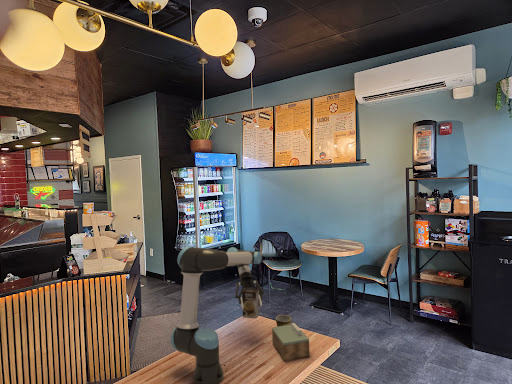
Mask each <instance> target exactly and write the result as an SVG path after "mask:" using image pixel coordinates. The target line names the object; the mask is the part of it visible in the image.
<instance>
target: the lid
mask: <svg viewBox="0 0 512 384" xmlns="http://www.w3.org/2000/svg"><path fill="white" fill-rule="evenodd" d="M272 330H273V331H274V333H275V334H276V336H277V337H278V339H279V340H280V341H281V343H282V344H283V345H289V344H295V343H301V342H306V341H309V342H310V338H309V337H308V336H307V335H306V334H305V332H303V330H302V329H301V328H300V327H299V326H298V325H297V324H296V322H291V325H285V326H278V327H277V326H274V327H271V331H272Z"/></svg>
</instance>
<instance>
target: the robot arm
mask: <svg viewBox="0 0 512 384" xmlns="http://www.w3.org/2000/svg"><path fill="white" fill-rule="evenodd" d="M262 258H263V256H262V253H261V252H259V251H256V250H255V251H252V250H246V249H245V250H243V249H237V248H236V247H232V246H231V247H230V248H228V249H227V251H224V250H218V249H217V250H215V249H212V248H207V247H205V248H204V247H197V246H195V247H194V246H186V247H183V248H182V249H181V251H180V252H179V253H178V256H177V260H176V262H177V264H178V266H179V268H180V269H181V271H180V274H182V275H183V282H182V291H181V292H182V293H181V305H180V314H179V321H178V323H177V324H176V327H175V328H174V329H172V332H171V334H170V344H171V346H172V348H173V349H174V350H175V351H178V352H180V353H184V354H185V355H186V354H187V355H191V356H194V357H195V367H194V371H193V375H192V381H193V384H220V383H221V382H222V381H223V379H224V370H223V367H222V365H221V363H220V341H219V335H218V332H217V331H216V330H214V329H212V328H209V327H207V328H199V326H200V324H199V323H198V322H197V318H198V317H197V316H198V305H199V304H198V303H199V294H200V293H199V292H200V278H201V275H203V274H204V272H207V271H208V272H211V271H215V270H222V269H225V268H226V267H232V266H237V269H238V273H239V280H240V281H236V284H235V286H236V288H235V289H236V290H235V296H234V299H237V300H238V303H239V305H240V307H241V310H243V308H244V306H243V301H242V291H243V290H244V289H245V288H249V289H259V308H261V307H263V303H262V301H263V295H264V293H265V292H264V290H263V288H262V287H261V285H260V284H259V281H258V279H256V280H253V277H252V272H251V268H250V264H251V265H252V264H254V265H259V264H261V262H262ZM240 286H241V289H240V291H239V288H240Z"/></svg>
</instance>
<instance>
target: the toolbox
mask: <svg viewBox="0 0 512 384" xmlns="http://www.w3.org/2000/svg"><path fill="white" fill-rule="evenodd" d="M271 334H272V335H271V336H272V346H273V347H274V349H275V350H276V352H277V353H278V355H279V357H280V358H281V360H282V362H283V363H285V362H291V361H297V360H302V359H307V358H310V340H309V341H306V342H301V343H295V344H289V345H283V344H282V343H281V341H280V340H279V339H278V337H277V336H276V334H275V333H274V331H273V330H272V329H271Z"/></svg>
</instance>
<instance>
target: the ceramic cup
mask: <svg viewBox="0 0 512 384" xmlns="http://www.w3.org/2000/svg"><path fill="white" fill-rule="evenodd" d="M275 323H276V327H278V326H285V325H291V323H292V317H291V316H290V315H287V314H278V315H277V316H276V317H275Z"/></svg>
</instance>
